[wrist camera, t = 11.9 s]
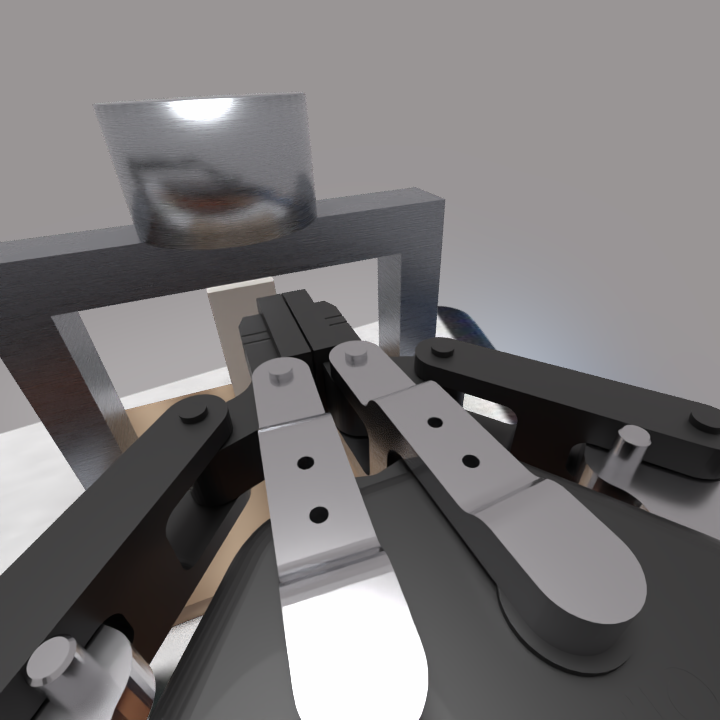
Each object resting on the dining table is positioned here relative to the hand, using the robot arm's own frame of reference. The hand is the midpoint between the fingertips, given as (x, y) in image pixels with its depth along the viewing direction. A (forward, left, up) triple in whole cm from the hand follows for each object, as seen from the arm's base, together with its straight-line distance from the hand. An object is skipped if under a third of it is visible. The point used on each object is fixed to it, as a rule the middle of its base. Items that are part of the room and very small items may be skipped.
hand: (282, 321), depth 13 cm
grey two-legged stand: (-2, +14, -19) cm, 23 cm away
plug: (-4, +21, -18) cm, 28 cm away
